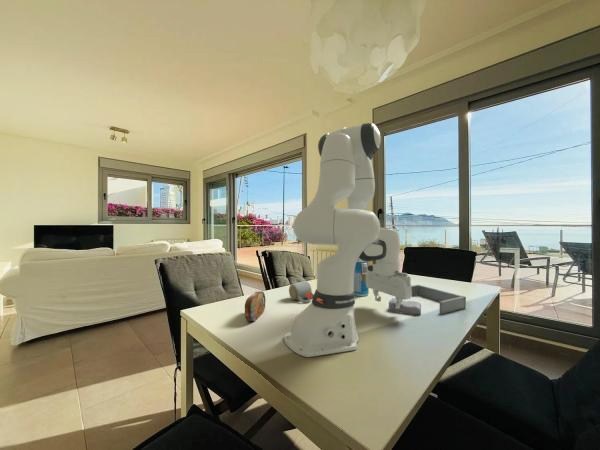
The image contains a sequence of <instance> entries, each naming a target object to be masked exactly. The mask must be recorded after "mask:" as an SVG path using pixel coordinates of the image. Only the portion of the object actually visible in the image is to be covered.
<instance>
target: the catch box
mask: <svg viewBox="0 0 600 450" xmlns="http://www.w3.org/2000/svg"><path fill="white" fill-rule="evenodd" d="M411 289H412V297H415V296H421V297H425V298H427V299H432V300H434V301H438V302H439V314H441V315H443V314H444V315H445V314H447V313H451V312H455V311H459V310H462V309H466V308H467V307H466V306H467V305H466V304H467V303H466V302H467V297H466V296H463V295H460V294H455V293H452V292H448V291H444V290H440V289H437V288H432V287H429V286H425V285H421V284H415V285H411Z"/></svg>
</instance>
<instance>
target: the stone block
mask: <svg viewBox="0 0 600 450" xmlns="http://www.w3.org/2000/svg"><path fill="white" fill-rule="evenodd" d="M396 301H397V300H396V297H395V298H394V297H392V298H391V299H389V302H388V311H389V312H394V313H395V312H396V313H402V314H407V315H408V314H409V315H414V316H420V315H421V314H422V311H421V310H422V304H421V302H419V301H414V300H407V301H406V300H404V299H403V300H402V302H401V303H400V308H399V309H396V308H394V303H396Z"/></svg>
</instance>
